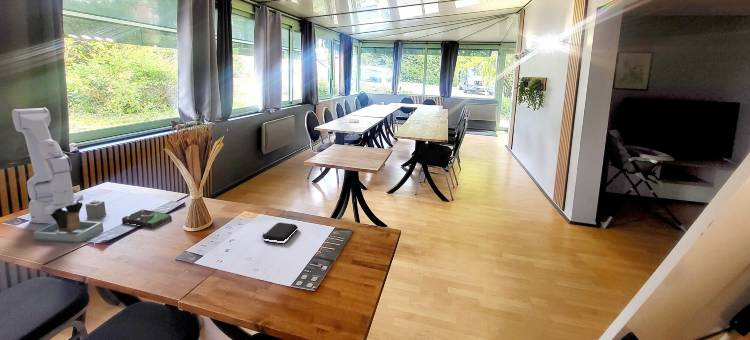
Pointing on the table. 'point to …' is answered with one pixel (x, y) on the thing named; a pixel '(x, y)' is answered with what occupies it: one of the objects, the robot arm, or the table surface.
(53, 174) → the robot arm
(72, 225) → the walnut block
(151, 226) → the disk drive
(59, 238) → the tray
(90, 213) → the grey button block
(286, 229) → the carrying case or bag
